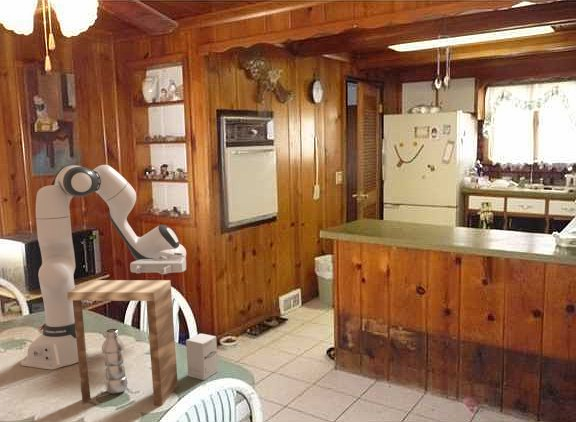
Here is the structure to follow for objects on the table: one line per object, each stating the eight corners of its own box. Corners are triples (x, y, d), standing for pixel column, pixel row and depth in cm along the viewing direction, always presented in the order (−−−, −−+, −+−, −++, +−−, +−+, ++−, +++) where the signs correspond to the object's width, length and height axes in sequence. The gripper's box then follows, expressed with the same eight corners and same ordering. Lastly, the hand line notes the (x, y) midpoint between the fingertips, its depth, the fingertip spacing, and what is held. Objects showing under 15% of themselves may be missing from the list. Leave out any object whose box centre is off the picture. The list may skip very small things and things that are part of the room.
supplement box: (204, 381, 166) (202, 343, 164) (187, 376, 170) (185, 339, 168) (218, 371, 172) (216, 336, 170) (202, 367, 176) (200, 332, 174)
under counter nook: (77, 401, 155) (66, 292, 151) (99, 382, 168) (89, 280, 163) (162, 405, 151) (153, 292, 147) (177, 384, 164) (170, 280, 160)
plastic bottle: (120, 397, 157) (114, 334, 154) (101, 395, 159) (95, 333, 156) (132, 387, 163) (127, 327, 161) (114, 385, 165) (108, 326, 163)
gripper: (138, 254, 197) (121, 262, 184) (189, 253, 195) (176, 262, 181) (139, 270, 198) (123, 279, 185) (190, 270, 195) (177, 279, 182)
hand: (149, 271), depth 183 cm, fingers open, 8 cm apart
